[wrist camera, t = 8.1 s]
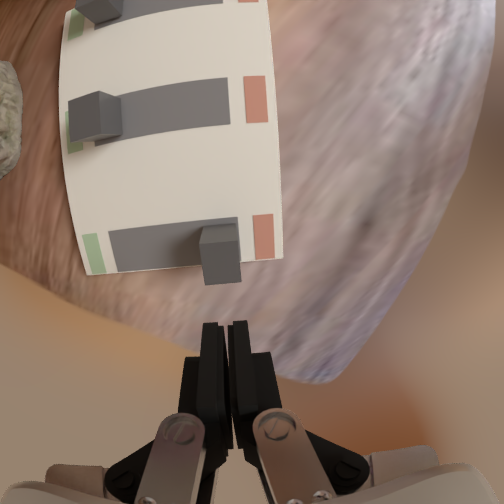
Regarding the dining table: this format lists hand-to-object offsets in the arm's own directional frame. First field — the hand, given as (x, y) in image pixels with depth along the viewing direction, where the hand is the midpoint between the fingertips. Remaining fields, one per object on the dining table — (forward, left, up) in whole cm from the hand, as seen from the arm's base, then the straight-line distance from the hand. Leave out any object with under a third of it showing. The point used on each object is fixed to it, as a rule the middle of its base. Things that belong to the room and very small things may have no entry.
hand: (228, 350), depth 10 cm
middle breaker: (+9, -11, -13) cm, 19 cm away
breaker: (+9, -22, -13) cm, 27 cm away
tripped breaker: (0, 0, -13) cm, 13 cm away
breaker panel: (+5, -11, -15) cm, 19 cm away
